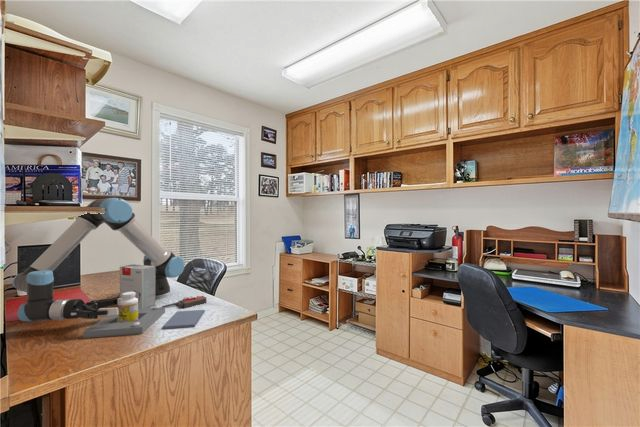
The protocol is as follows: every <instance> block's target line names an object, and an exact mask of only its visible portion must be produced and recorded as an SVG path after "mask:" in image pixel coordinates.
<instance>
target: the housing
mask: <svg viewBox="0 0 640 427" xmlns="http://www.w3.org/2000/svg"><path fill="white" fill-rule="evenodd" d="M165 313H166V307H162V306H160V305H154V306H152V307H149V308H141V309H138V320H137V321H134V322H119V309H118V315H110V316H104V318H102V319H101V320H99V321H97V322H96V323H94V324H93V325H91V326H89V327H88V328H86V329H85V330H83V331H82V339H88V338H89V339H90V338H102V337H114V336H115V337H118V336H128V335H142V334H144V333H146V332H147V331H148V329H149V328H150V327H151V326H152V325H153V324H155V322H157V321H158V320H159V318H161V317H162V316H163V315H164V314H165Z"/></svg>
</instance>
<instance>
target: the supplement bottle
mask: <svg viewBox="0 0 640 427" xmlns="http://www.w3.org/2000/svg"><path fill="white" fill-rule="evenodd" d="M135 295H136V294H135V292H126V293H123V294H122V298H123V299H122V300H121V301H120V302H119V305H118V310H119V322H134V321H137V320H139V319H138V299H137V298H135Z"/></svg>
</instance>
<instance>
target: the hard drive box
mask: <svg viewBox="0 0 640 427" xmlns="http://www.w3.org/2000/svg"><path fill="white" fill-rule="evenodd" d="M126 292H135V294H136V295H135V298H137V299H138V309H141V308H152V307H154V306H156V295H155V266H147V265H144V264H128V265H122V266H119V298H122V294H123V293H126Z"/></svg>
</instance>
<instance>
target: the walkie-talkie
mask: <svg viewBox="0 0 640 427" xmlns="http://www.w3.org/2000/svg"><path fill="white" fill-rule="evenodd" d="M204 303H205V304H207V296H204V295H201V296H200V295H196V296H193V295H191V296H190V295H189V296H186V297H184V298H182V299H181V300H178V301H177V302H173V303H168V304H164V305H161V307H165V308H168V307H173V306H178V307H180V308H182V309H188V308H192V306H193V307H197V306H200V304H201V305H205V304H204ZM196 305H197V306H196Z"/></svg>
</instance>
